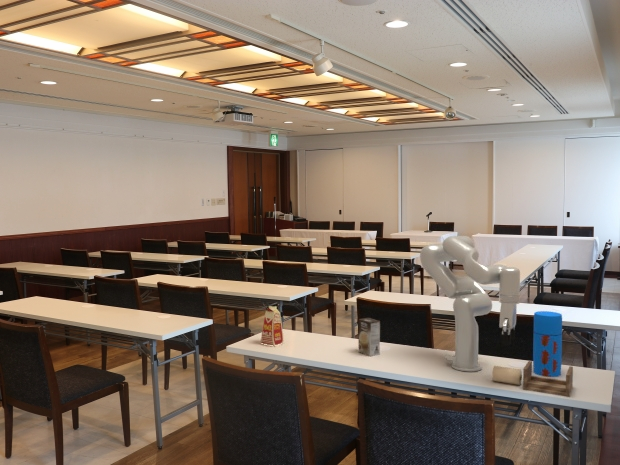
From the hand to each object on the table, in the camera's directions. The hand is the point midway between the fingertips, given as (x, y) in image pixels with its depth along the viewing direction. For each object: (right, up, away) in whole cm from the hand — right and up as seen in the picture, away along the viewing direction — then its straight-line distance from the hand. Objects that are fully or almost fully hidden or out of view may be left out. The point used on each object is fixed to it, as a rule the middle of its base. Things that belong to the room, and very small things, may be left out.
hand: (508, 341), depth 218 cm
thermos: (+20, -16, +12) cm, 29 cm away
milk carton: (-97, -14, +62) cm, 117 cm away
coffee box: (-50, -14, +44) cm, 68 cm away
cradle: (+13, -17, -6) cm, 22 cm away
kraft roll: (0, -16, +1) cm, 16 cm away
